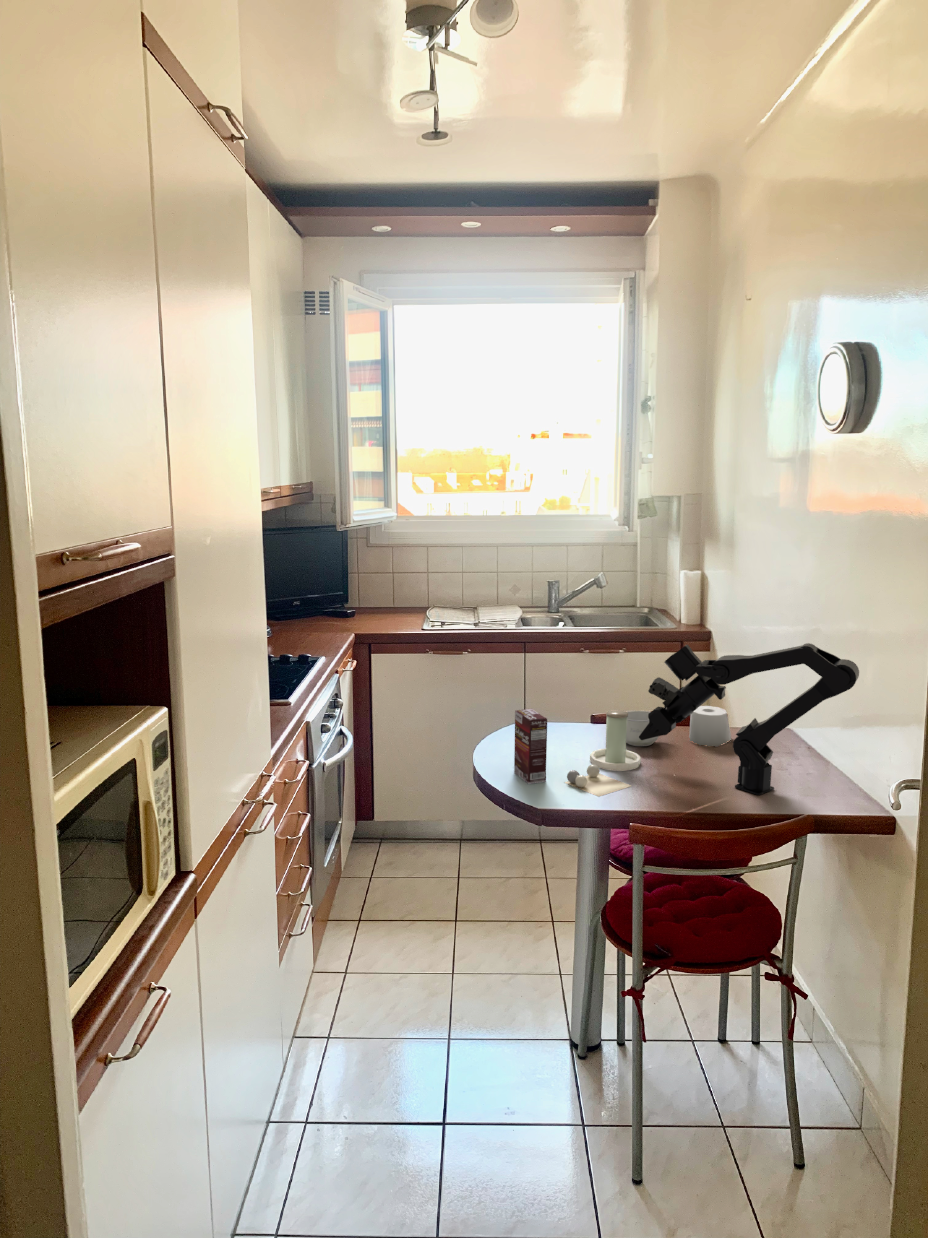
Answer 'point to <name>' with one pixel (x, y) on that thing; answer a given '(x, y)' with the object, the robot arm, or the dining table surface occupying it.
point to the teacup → (638, 728)
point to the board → (601, 785)
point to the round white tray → (631, 763)
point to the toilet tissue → (709, 726)
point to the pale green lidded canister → (616, 736)
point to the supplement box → (530, 746)
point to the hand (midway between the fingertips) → (646, 733)
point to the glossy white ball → (593, 771)
